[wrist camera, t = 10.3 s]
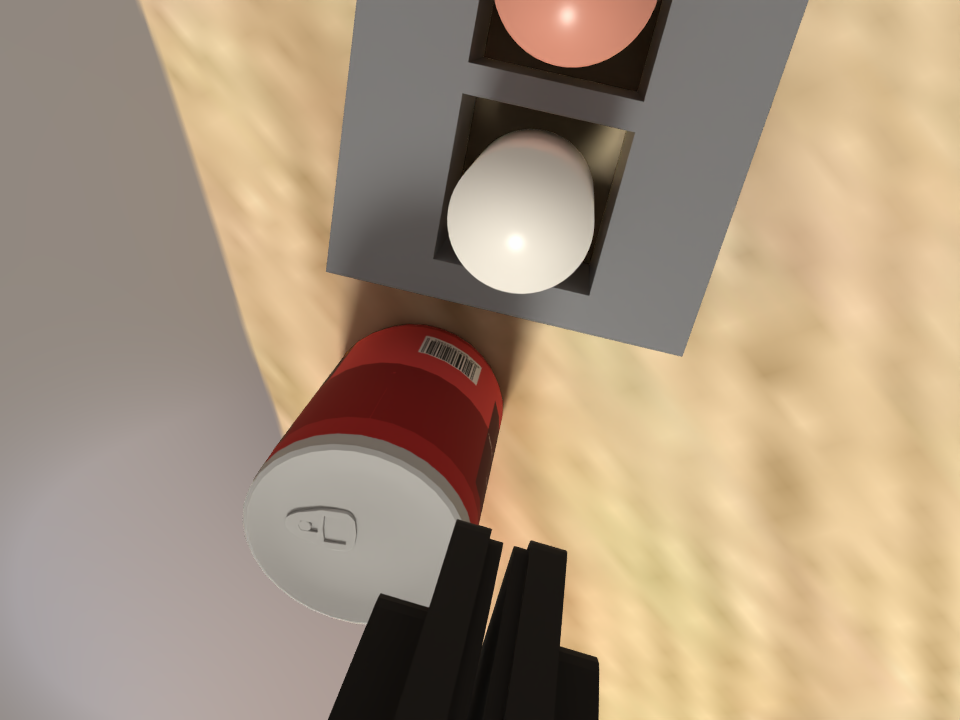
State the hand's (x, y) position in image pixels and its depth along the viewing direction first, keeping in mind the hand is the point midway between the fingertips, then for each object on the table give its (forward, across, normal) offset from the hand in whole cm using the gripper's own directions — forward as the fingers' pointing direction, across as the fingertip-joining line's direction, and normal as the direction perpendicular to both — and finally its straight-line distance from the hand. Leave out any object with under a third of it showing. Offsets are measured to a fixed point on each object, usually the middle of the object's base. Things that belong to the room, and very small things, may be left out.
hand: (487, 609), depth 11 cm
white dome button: (+19, +2, -2) cm, 19 cm away
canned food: (+22, +4, +9) cm, 24 cm away
